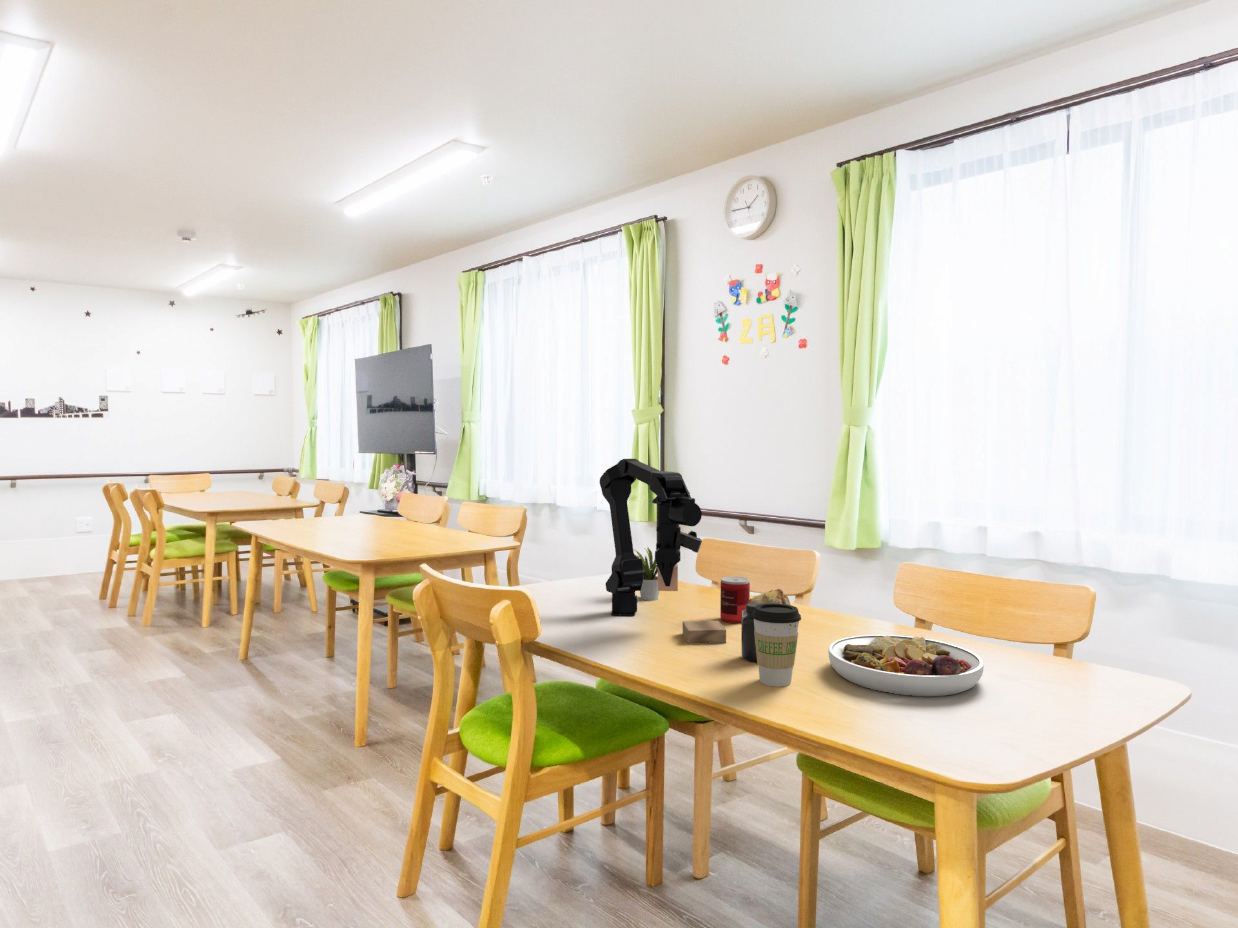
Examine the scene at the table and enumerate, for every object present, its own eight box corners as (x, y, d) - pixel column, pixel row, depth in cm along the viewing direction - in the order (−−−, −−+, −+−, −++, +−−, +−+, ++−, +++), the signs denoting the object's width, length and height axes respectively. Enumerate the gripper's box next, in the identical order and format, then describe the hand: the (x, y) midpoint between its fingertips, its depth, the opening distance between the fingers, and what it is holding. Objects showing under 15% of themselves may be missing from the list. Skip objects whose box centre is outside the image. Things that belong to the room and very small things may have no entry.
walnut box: (688, 645, 186) (688, 630, 186) (682, 635, 195) (682, 621, 195) (726, 644, 187) (726, 629, 187) (718, 634, 196) (718, 620, 196)
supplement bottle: (775, 656, 176) (776, 603, 176) (768, 664, 170) (768, 609, 169) (745, 652, 179) (746, 600, 178) (737, 660, 173) (737, 606, 172)
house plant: (681, 594, 241) (681, 541, 240) (674, 604, 227) (674, 548, 227) (635, 592, 244) (635, 540, 243) (625, 601, 231) (626, 546, 230)
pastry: (803, 622, 208) (803, 592, 207) (760, 625, 204) (760, 594, 204) (778, 610, 221) (779, 582, 221) (737, 613, 218) (738, 584, 218)
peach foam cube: (657, 590, 196) (657, 566, 196) (658, 586, 201) (658, 563, 201) (677, 591, 196) (677, 567, 195) (677, 587, 201) (677, 563, 200)
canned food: (748, 616, 213) (748, 576, 213) (750, 624, 205) (750, 582, 205) (719, 616, 214) (720, 575, 213) (720, 623, 206) (721, 581, 205)
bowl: (799, 664, 171) (800, 628, 171) (909, 650, 182) (909, 617, 182) (895, 710, 143) (896, 668, 143) (1017, 691, 154) (1018, 651, 154)
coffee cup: (771, 692, 152) (772, 615, 151) (740, 678, 160) (741, 605, 160) (810, 685, 156) (811, 610, 156) (779, 671, 165) (780, 600, 164)
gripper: (701, 527, 188) (701, 592, 188) (698, 518, 206) (698, 577, 207) (654, 526, 188) (654, 591, 189) (656, 518, 207) (656, 577, 208)
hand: (667, 584), depth 198 cm, fingers closed on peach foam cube, 5 cm apart
